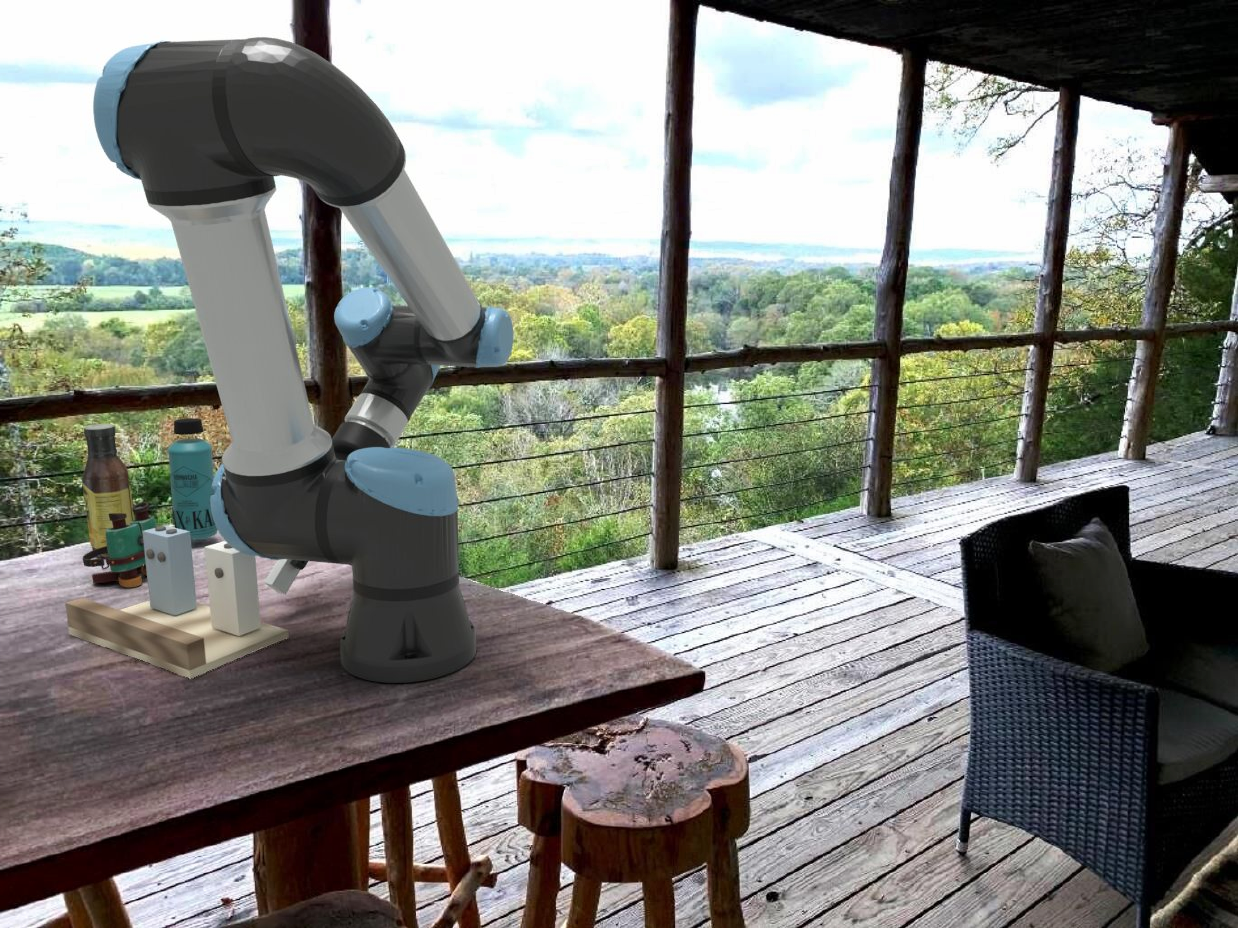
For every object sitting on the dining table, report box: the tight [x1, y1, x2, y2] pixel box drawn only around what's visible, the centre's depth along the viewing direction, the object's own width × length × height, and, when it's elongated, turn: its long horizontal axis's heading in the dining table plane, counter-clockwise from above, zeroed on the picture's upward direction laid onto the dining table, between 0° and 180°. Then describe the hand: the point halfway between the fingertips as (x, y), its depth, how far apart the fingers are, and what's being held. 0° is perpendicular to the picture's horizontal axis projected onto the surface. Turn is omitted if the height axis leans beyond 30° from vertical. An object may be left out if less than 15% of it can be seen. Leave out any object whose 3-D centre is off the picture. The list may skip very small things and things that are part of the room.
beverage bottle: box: [167, 417, 219, 541], centre depth 143 cm, size 6×7×20 cm
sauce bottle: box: [81, 423, 136, 558], centre depth 137 cm, size 7×6×20 cm
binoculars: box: [82, 501, 157, 588], centre depth 127 cm, size 9×11×10 cm
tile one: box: [204, 540, 261, 636], centre depth 107 cm, size 5×3×10 cm, turn 60°
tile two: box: [142, 525, 198, 615], centre depth 113 cm, size 5×3×10 cm, turn 60°
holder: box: [65, 597, 290, 680], centre depth 108 cm, size 23×13×4 cm, turn 60°
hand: (274, 588), depth 113 cm, fingers closed
